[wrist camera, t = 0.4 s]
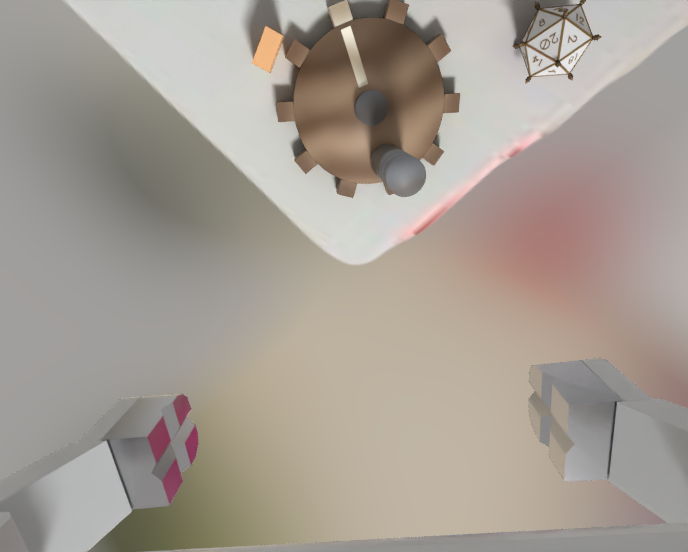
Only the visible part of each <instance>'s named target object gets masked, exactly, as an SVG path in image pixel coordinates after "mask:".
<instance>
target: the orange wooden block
mask: <svg viewBox="0 0 688 552" xmlns="http://www.w3.org/2000/svg"><path fill="white" fill-rule="evenodd" d="M282 42H283V35H281V34H279V33H277V32H276V31H274V30H272V29H270V28H269V27H267V26H265V29H264V31H263V34H262V37H261V40H260V42H259V45H258V48H257V51H256V53H255V56H254V59H253V62H252V64H254V65H256V66H258V67H260V68H262V69H263V70H265V71H267V72H269V73H271V70H272V68H273V65H274V63H275V60H276V57H277V55H278V52H279V50H280V47H281V44H282Z"/></svg>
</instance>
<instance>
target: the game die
mask: <svg viewBox="0 0 688 552" xmlns="http://www.w3.org/2000/svg"><path fill="white" fill-rule="evenodd" d="M585 1H586V0H581V1H580V3H579V4H576V5H566V6H557V7H547V8H540V5H539V3H537V2H535V6H534V7H535V9H537V12H536V14H535V16H534V18H533V20H532V22H531V24H530V26H529V28H528V30H527V32H526V34H525V36H524V37H523V39H522V41H521V42H520V44H515V45H514V46H513V47H514V48H515V49H516V48H519V47H520V50H521V53H522V56H523V59H524V61H525V64H526V67H527V70H528V73H529V77H527V79H526V83H527V82H530V80H531V77H537V76H552V75H567V74H568V78H569V79H570V80H573V74H571V71H572V70H573V68H574V67H575V65H576V64H577V62H578V61H579V59H580V58H581V56H582V55H583V53H584V52H585V50H586V49H587V47H588V46H589V44H590V43H591V41H592V40H598V39H600V38H601V36H599V34H598V35H595V36H593V35H592V32H591V30H590V27H589V24H588V22H587V19H586V16H585V14H584V11H583V8H582V5H583V4H584V2H585ZM526 83H525V84H526Z"/></svg>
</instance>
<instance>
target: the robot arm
mask: <svg viewBox="0 0 688 552" xmlns="http://www.w3.org/2000/svg"><path fill="white" fill-rule="evenodd" d="M529 383H530V384H531V385H532V387H533V388H534V390H535V391H534V393H533V394H532V395H531V396H530V398H529V415H530V420H531V425H532V427H533V430H534V432H535V434H536V436H537V438H538V439H539V441H540V442H542V443H543V444H545V445H547V446H549V457H550V459H551V461H552V462H553V464H554V465H555V467H556V468H557V470H558V472H559V474H560V475H561V477H562V478H563V480H564V481H586V480H609V482H610V483H611V484H613V485H614V486H615V487H617V488H618V489H620V490H621V491H623V492H624V493H625V494H627V495H629V496H630V497H631V498H633V499H634V500H636V501H637V502H638V503H640V504H641V505H643V506H644V507H646V508H647V509H649V510H650V511H651V512H653V513H654V514H656V515H657V516H659V517H660V518H661V519H663V520H664V521H666V522H667V523H666V524H649V525H632V526H613V527H595V528H575V529H558V530H557V529H556V530H537V531H519V532H501V533H481V534H462V535H443V536H424V537H406V538H387V539H370V540H351V541H333V542H315V543H298V544H278V545H260V546H243V547H242V546H241V547H222V548H203V549H184V550H166V551H146V552H688V408H685V407H682V406H679V405H677V404H674V403H671V402H669V401H666V400H663V399H652V398H650V397H649V396H648V395H647V394H646V393H645V392H644V391H642V390H641V389H640V388H639V387H638V386H637V385H635V384H634V383H633V382H632V381H631V380H629V379H628V378H627V377H626V376H625V375H624V374H622V373H621V372H620V371H619V370H618V369H617V368H615V367H614V366H613V365H612V364H610V362H608V361H607V360H605V359H603V358H594V359H586V360H578V361H569V362H560V363H551V364H542V365H533V366H531V369H530V372H529ZM190 410H191V407H190V404H189V401H188V398H187V397H186V396H185V395H183V394H171V395H157V396H144V397H143V396H137V397H128V398H123V399H119V400H118V401H117V402H116V403H115V404H114V405H113V406H112V407H111V408H110V409H109V410H108V411H107V412H106V413H105V414H104V415H103V416H102V417H101V418H100V419H99V420H98V421H97V423H96V424H95V425H94V426H93V427H92V428H91V429H90V430H89V431H88V432H87V433H86V434H85V435H84V436H83V437H82V438H81V439H80V440H79V441H78V442H77V443H70V444H68V445H67V446H64V447H62V448H60V449H59V450H57V451H55V452H53V453H51V454H49V455H47V456H45V457H44V458H42V459H40V460H38V461H36V462H34V463H32V464H31V465H29V466H27V467H25V468H23V469H21V470H19V471H17V472H16V473H14V474H12V475H10V476H8V477H6V478H4V479H3V480H1V481H0V552H87V551H88V550H89V549H91V548H92V547H93V546H94V545H95V544H96V543H97V542H98V541H99V540H101V539H102V538H103V537H104V536H105V535H106V534H107V533H108V532H109V531H111V530H112V529H113V528H114V527H115V526H116V525H117V524H118V523H119V522H121V520H123V519H124V518H125V517H126V516H127V515H128V514H129V513H131V511H132V509H139V508H150V507H161V506H170V504H171V502H172V500H173V498H174V497H175V495H176V493H177V491H178V489H179V487H180V485H181V484H182V482H183V480H182V476H181V473H182V472H183V471H185V470H186V469H187V468H188V467H190V466H191V465H192V463H193V461H194V459H195V457H196V453H197V448H198V432H197V428H196V425H195V424H194V423H193V422H192V421H191V420H190V419H189V418H188V417H187V416H188V414H189V412H190Z"/></svg>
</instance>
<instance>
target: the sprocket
mask: <svg viewBox="0 0 688 552" xmlns="http://www.w3.org/2000/svg"><path fill="white" fill-rule="evenodd" d="M408 7H409V5H408V4H405V3H403V2H400V1H397V0H388V3H387V6H386V10H385V14H384V17H383V19H382V18H361V19H355V20H353V18H352V14H351V11H350V8H349V4H348V1H347V0H344V1H342V2H340V3H337V4H335V5H332V6H330V7H329V8H328V12H329V16H330V19H331V22H332V25H333V28H334V29H332V30H331V31H329V32H328V33H327V34H325V35H324V36H323V37H322V38H321V39H320V40H319V41H318V42H317V43H316V44H315V45H314V47H313V48H312V49H311V50H309V49H308V48H306V47H305V46H304V45H302V44H301V43H300V42H298V41H297V40H296V39H294V41H293V43H292V45H291V47H290V49H289V51H288V52H287V54H286V56H285V58H286V59H288V60H289V61H290V62H292V63H293V64H295V65H296V66H297V67H299V68H300V67H301V68H300V70H299V73H298V76H297V80H296V84H295V90H294V101H286V102H276V104H277V114H278V122H287V121H295V122H296V127H297V130H298V133H299V136H300V138H301V140H302V142H303V144H304V146H305V148H306V149H305V150H304V151H303V152H302V153H300V154H299V155H298V156H297V157H296V158H295V162H296V163H297V164H298V165H299V167H300V168H301V169H302V170H303V171H304V173H305V174H306V173H308V172H309V171H310V170H311V169H312V168H313V167H315V166H316V165H317V163H318V164H319V165H320V166H321V167H322V168H323V169H325V170H326V171H327V172H329V173H330V174H332V175H334V176H336V177H338V178H340V180H339V183H338V187H337V191H336V192H337V194H339V195H343V196H347V197H351V198H353V196H354V193H355V189H356V186H357V183H361V184H371V183H379V182H383V183H384V186H385V189H386V192H387V194H388V195H391V194H396V195H398V196H401V197H408V196H412V195H414V194H416V193H417V192H418V191H419V190H420V189H421V188H422V186H423V185H424V183H425V179H426V171H425V167H424V165H423V164H422V163H421V161H419V160H420V159H421V158H423V159H425V160H426V161H427V162H429V163H430V164H432V165H435V164H436V162H437V161H438V159H439V158H440V157H441V155H442V154H443V153H444V151H443V150H442V149H440V148H439V147H438V146H436V145H435V144H434V143H433V141H434V139H435V137H436V135H437V132H438V130H439V127H440V124H441V120H442V115H443V113H455V112H459V101H460V93H449V94H444V87H443V80H442V76H441V73H440V69H439V66H438V64H437V62H438V61H440V60H441V59H442V58H443V57H444V56H446V55H447V54H448V53H449V52H450V51H451V49H450V48H449V46H448V44H447V42H446V40H445V39H444V37H443V35H442V34H440V35H437V36H436V37H435V38H434V39H432V40H431V41H430V42H429V43H428V44H427V45H426V44H425V43H424V41H423V40H422V39H421V38H420V37H419V36H417V35H416V34H415V33H414V32H413V31H411V30H410V29H408V28H407V27H405V26H403V24H404V20H405V17H406V14H407V10H408ZM309 51H310V52H309ZM308 52H309V53H308ZM307 54H308V55H307ZM306 56H307V57H306ZM302 63H303V64H302ZM301 65H302V66H301ZM293 106H294V108H293ZM294 117H295V120H294Z"/></svg>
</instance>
